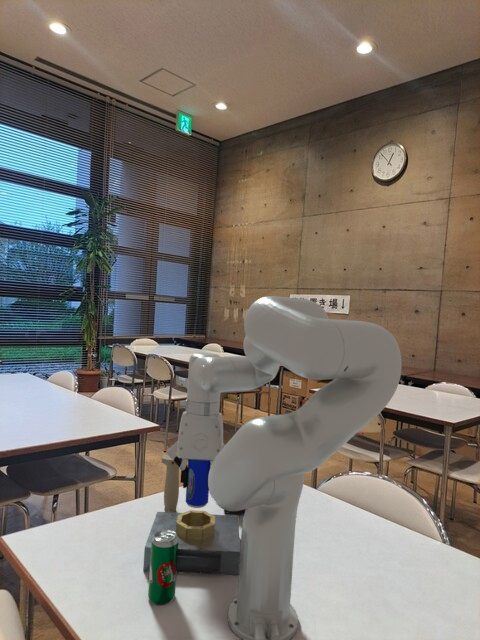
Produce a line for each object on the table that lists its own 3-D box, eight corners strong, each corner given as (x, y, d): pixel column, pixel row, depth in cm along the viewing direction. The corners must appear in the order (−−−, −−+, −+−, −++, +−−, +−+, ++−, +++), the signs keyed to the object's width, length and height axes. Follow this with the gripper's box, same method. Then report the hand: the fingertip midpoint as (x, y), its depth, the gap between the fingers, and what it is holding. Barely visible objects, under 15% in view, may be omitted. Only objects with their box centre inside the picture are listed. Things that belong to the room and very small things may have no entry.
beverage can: (183, 499, 99) (187, 435, 99) (204, 497, 101) (208, 434, 101) (188, 509, 94) (192, 442, 94) (210, 507, 96) (215, 441, 96)
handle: (181, 515, 114) (185, 460, 114) (157, 515, 114) (160, 459, 113) (182, 507, 119) (185, 454, 119) (159, 507, 118) (162, 453, 118)
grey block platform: (238, 578, 89) (240, 543, 89) (142, 574, 88) (144, 538, 88) (237, 535, 106) (238, 505, 106) (156, 531, 105) (157, 501, 105)
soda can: (153, 587, 84) (157, 527, 84) (178, 591, 84) (182, 530, 83) (143, 604, 79) (147, 540, 79) (170, 608, 79) (174, 544, 78)
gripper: (162, 409, 93) (157, 491, 94) (240, 413, 94) (235, 495, 94) (167, 401, 101) (162, 478, 101) (239, 406, 101) (234, 482, 102)
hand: (197, 485), depth 98 cm, fingers closed on beverage can, 5 cm apart
